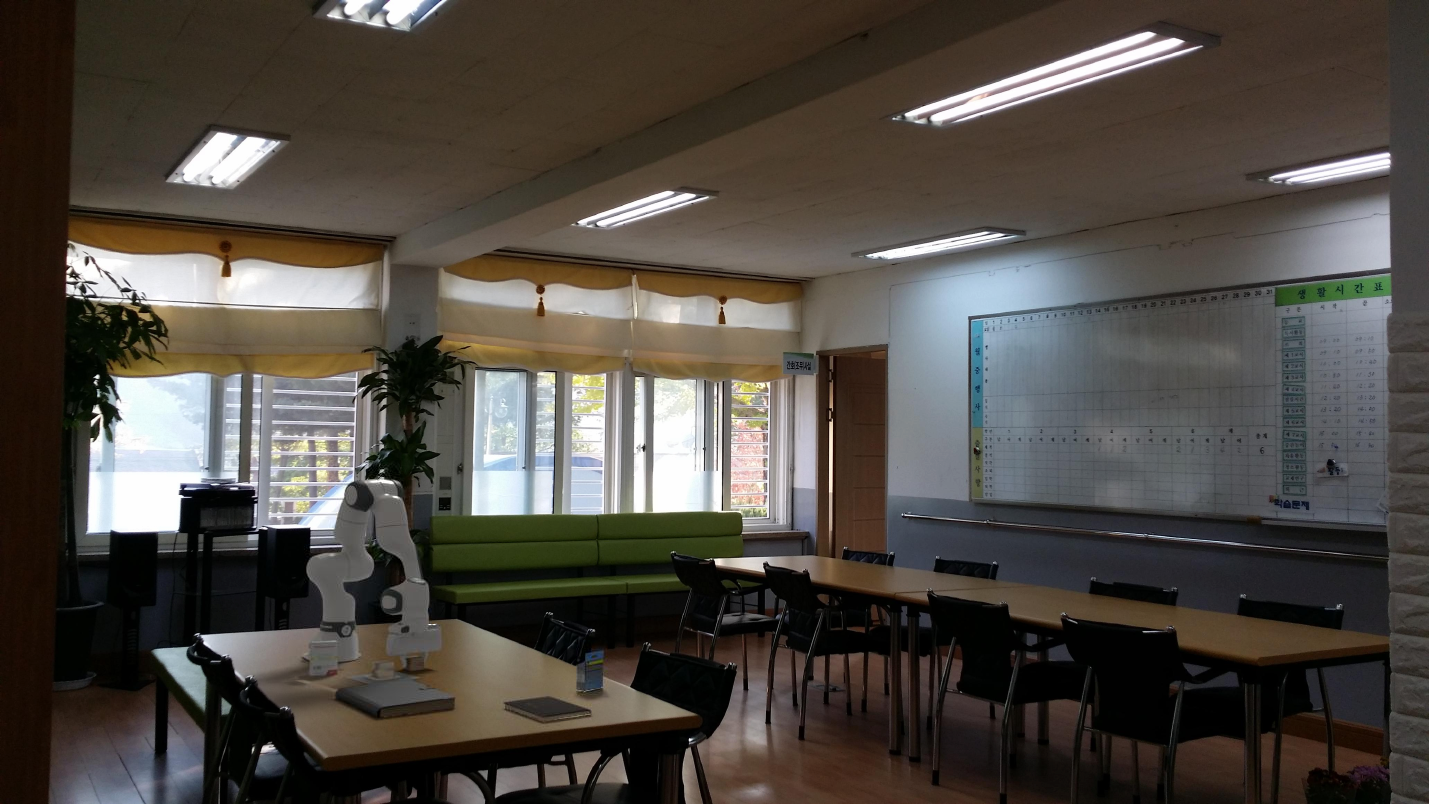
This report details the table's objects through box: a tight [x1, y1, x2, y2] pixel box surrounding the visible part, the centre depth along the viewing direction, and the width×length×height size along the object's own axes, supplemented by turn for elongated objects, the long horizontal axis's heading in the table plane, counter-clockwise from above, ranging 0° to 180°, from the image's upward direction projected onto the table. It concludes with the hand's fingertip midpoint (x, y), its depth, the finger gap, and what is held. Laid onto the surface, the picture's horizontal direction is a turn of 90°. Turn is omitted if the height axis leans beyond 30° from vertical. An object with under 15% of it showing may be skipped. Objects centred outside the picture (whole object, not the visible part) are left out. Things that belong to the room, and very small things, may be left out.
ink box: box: [308, 640, 339, 677], centre depth 363 cm, size 9×5×12 cm, turn 116°
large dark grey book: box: [334, 679, 456, 719], centre depth 323 cm, size 33×4×24 cm
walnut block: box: [402, 655, 425, 672], centre depth 375 cm, size 5×5×5 cm
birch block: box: [371, 660, 395, 679], centre depth 358 cm, size 5×5×5 cm
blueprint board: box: [344, 670, 421, 685], centre depth 358 cm, size 18×18×1 cm
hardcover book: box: [503, 695, 592, 723], centre depth 315 cm, size 16×23×2 cm
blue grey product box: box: [575, 649, 605, 691], centre depth 348 cm, size 9×4×12 cm, turn 145°
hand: (413, 666), depth 375 cm, fingers closed on walnut block, 5 cm apart
